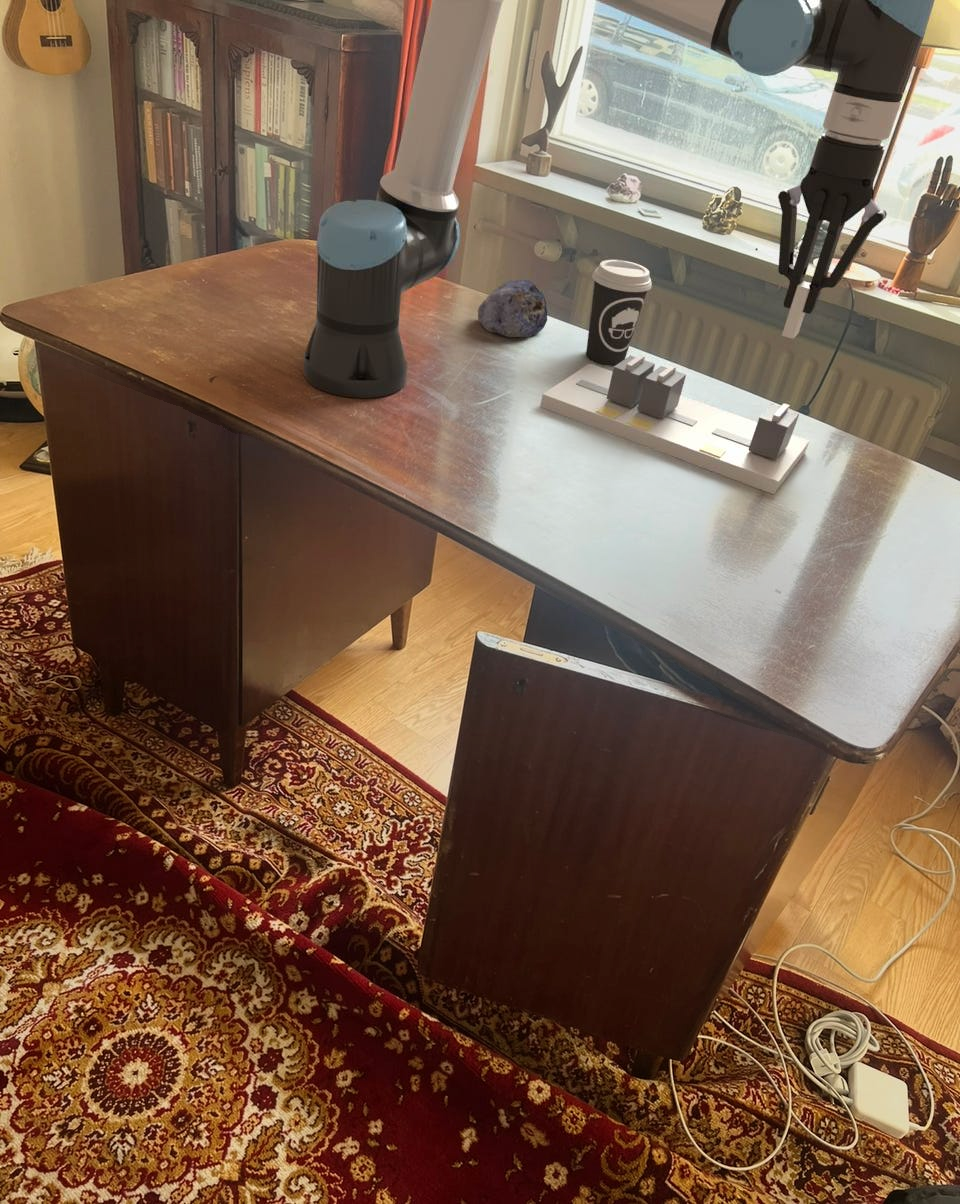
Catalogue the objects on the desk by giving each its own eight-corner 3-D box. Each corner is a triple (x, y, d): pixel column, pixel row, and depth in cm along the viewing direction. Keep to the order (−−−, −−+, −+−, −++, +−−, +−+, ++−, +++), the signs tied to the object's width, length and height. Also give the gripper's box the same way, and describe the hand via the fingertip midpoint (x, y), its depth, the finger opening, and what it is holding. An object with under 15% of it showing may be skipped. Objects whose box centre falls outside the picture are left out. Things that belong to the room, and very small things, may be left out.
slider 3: (748, 450, 128) (761, 412, 124) (761, 435, 132) (773, 398, 129) (775, 460, 127) (789, 421, 123) (787, 445, 131) (801, 407, 127)
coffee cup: (638, 355, 157) (659, 267, 148) (626, 375, 150) (648, 283, 141) (584, 342, 159) (602, 253, 150) (570, 360, 152) (588, 268, 143)
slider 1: (606, 398, 136) (615, 361, 132) (622, 386, 140) (631, 350, 136) (631, 407, 134) (640, 370, 131) (646, 395, 139) (656, 358, 135)
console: (540, 406, 136) (542, 392, 135) (587, 375, 148) (589, 362, 146) (773, 494, 124) (779, 480, 122) (805, 452, 135) (810, 439, 134)
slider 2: (637, 409, 134) (646, 372, 130) (652, 397, 138) (662, 360, 135) (662, 419, 132) (672, 381, 129) (677, 406, 137) (687, 369, 133)
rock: (557, 316, 160) (541, 268, 153) (526, 356, 157) (509, 309, 149) (508, 309, 166) (490, 262, 159) (477, 348, 163) (458, 302, 155)
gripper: (790, 128, 106) (733, 327, 120) (905, 152, 102) (832, 356, 116) (806, 122, 112) (751, 313, 126) (916, 145, 107) (846, 341, 121)
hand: (790, 334), depth 121 cm, fingers closed
